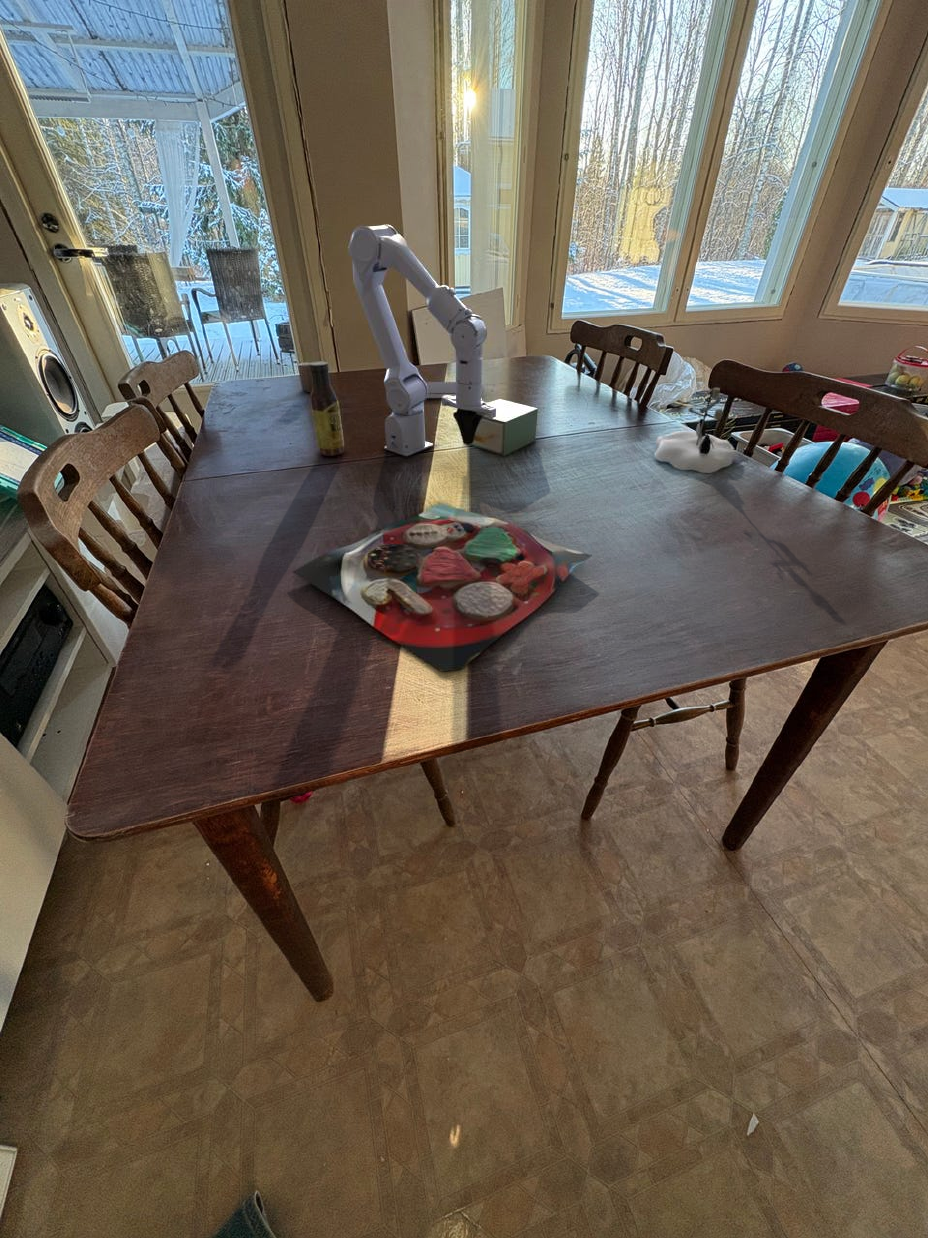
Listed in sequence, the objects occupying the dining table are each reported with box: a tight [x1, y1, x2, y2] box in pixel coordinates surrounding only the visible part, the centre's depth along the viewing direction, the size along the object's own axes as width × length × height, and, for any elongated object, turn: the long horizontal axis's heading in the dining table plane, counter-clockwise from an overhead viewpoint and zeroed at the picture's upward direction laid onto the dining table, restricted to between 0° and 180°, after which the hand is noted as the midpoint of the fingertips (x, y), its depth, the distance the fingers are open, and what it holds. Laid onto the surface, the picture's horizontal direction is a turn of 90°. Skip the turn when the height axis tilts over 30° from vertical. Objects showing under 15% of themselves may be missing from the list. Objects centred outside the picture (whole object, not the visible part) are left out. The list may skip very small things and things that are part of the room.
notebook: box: [425, 381, 456, 400], centre depth 163 cm, size 13×2×21 cm
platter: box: [292, 503, 593, 672], centre depth 83 cm, size 35×35×2 cm
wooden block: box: [297, 361, 314, 394], centre depth 163 cm, size 4×4×8 cm
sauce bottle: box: [309, 361, 345, 457], centre depth 118 cm, size 7×6×20 cm
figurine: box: [654, 386, 738, 474], centre depth 116 cm, size 20×18×16 cm
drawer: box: [471, 418, 504, 453], centre depth 125 cm, size 17×11×6 cm, turn 139°
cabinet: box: [468, 398, 539, 456], centre depth 127 cm, size 13×12×8 cm
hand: (468, 443), depth 120 cm, fingers closed, pressing on drawer
